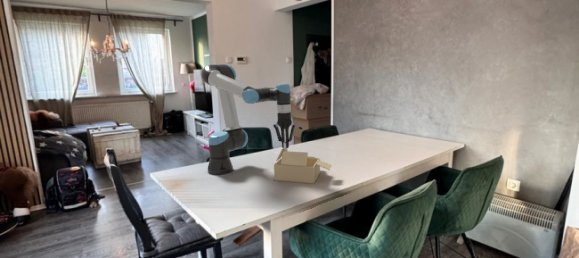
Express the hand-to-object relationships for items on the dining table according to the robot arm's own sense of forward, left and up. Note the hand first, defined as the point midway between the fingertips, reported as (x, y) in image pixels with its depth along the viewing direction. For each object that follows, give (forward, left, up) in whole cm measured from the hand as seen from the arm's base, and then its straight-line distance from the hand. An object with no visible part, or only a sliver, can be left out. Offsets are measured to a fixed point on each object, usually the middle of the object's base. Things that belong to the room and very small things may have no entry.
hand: (285, 153), depth 177 cm
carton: (+7, 0, -13) cm, 15 cm away
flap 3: (+7, +13, -5) cm, 16 cm away
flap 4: (+22, 0, -5) cm, 23 cm away
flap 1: (-2, 0, 0) cm, 2 cm away
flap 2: (+7, -7, -1) cm, 10 cm away
